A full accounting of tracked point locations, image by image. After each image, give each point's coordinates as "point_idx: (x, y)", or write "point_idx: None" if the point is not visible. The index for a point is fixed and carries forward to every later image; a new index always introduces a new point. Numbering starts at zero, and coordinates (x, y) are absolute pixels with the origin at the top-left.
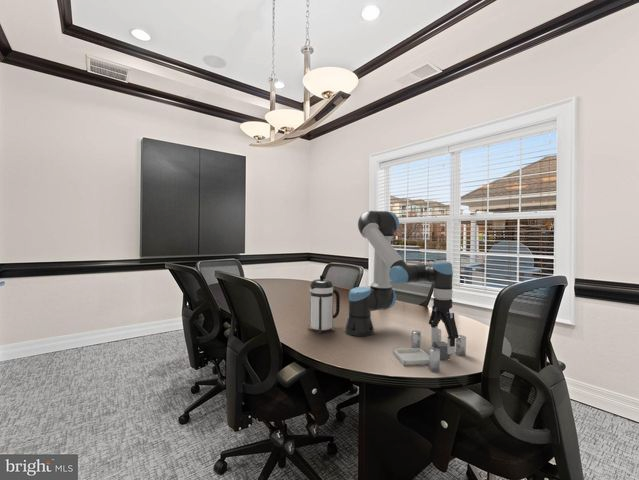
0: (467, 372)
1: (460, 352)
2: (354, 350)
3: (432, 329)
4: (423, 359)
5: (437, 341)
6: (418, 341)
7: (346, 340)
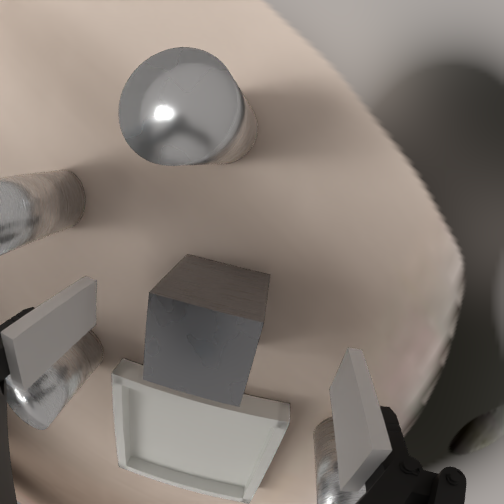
0: (441, 307)
1: (241, 152)
2: (99, 499)
3: (33, 382)
4: (264, 455)
5: (94, 286)
6: (75, 383)
7: (28, 463)
